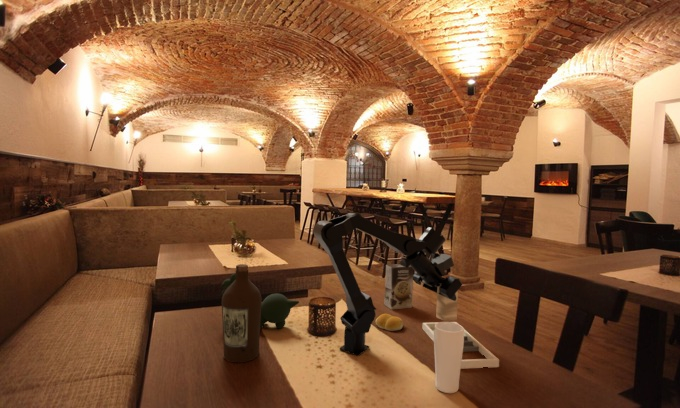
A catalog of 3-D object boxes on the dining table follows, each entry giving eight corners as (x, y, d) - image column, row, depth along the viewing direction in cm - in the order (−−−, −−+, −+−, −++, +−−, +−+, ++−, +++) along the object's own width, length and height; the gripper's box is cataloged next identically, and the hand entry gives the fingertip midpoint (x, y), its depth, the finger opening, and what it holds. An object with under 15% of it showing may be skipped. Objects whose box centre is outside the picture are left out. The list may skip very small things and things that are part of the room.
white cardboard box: (391, 310, 149) (392, 267, 148) (384, 304, 155) (385, 264, 154) (412, 307, 152) (414, 266, 151) (404, 302, 158) (406, 262, 157)
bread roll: (395, 333, 127) (395, 321, 127) (372, 326, 133) (372, 315, 132) (408, 326, 134) (408, 314, 133) (385, 320, 139) (385, 308, 139)
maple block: (456, 319, 125) (458, 282, 124) (444, 321, 123) (446, 283, 123) (447, 315, 129) (449, 279, 128) (436, 316, 128) (437, 280, 127)
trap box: (498, 367, 105) (499, 359, 105) (457, 368, 104) (457, 361, 104) (455, 327, 133) (456, 321, 133) (422, 328, 131) (422, 322, 131)
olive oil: (232, 345, 116) (233, 260, 114) (267, 348, 113) (267, 262, 112) (214, 361, 105) (214, 268, 103) (251, 366, 103) (252, 271, 101)
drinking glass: (439, 378, 99) (442, 319, 98) (466, 387, 95) (468, 326, 94) (427, 389, 94) (429, 327, 93) (454, 399, 89) (457, 334, 88)
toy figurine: (221, 335, 127) (298, 332, 124) (216, 276, 125) (293, 273, 123) (231, 324, 136) (303, 321, 134) (227, 269, 135) (299, 266, 133)
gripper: (458, 251, 115) (486, 286, 120) (421, 241, 132) (447, 272, 137) (434, 280, 112) (464, 314, 117) (400, 266, 129) (427, 296, 134)
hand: (450, 297), depth 126 cm, fingers closed on maple block, 4 cm apart
